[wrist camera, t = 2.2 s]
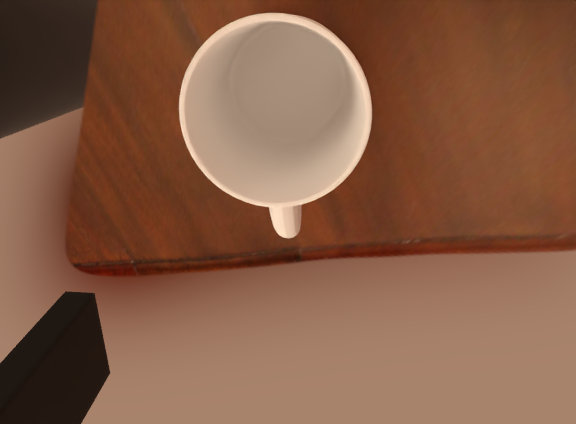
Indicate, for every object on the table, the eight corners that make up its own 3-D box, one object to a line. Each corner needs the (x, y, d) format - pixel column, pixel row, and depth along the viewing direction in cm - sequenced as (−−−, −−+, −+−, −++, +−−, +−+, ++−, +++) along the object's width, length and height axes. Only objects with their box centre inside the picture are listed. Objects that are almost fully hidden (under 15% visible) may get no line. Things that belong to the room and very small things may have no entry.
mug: (349, 196, 30) (365, 275, 21) (236, 197, 31) (201, 276, 22) (354, 11, 25) (377, 7, 16) (218, 17, 26) (163, 17, 17)
